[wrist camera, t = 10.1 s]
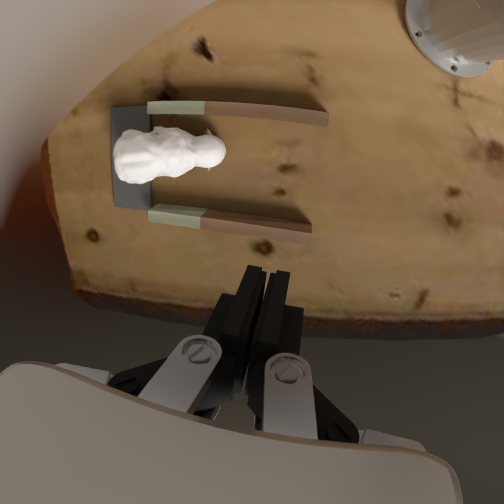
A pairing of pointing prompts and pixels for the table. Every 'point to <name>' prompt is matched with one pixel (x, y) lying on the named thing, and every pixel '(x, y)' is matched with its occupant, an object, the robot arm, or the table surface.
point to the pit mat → (123, 191)
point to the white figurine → (164, 153)
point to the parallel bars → (226, 219)
